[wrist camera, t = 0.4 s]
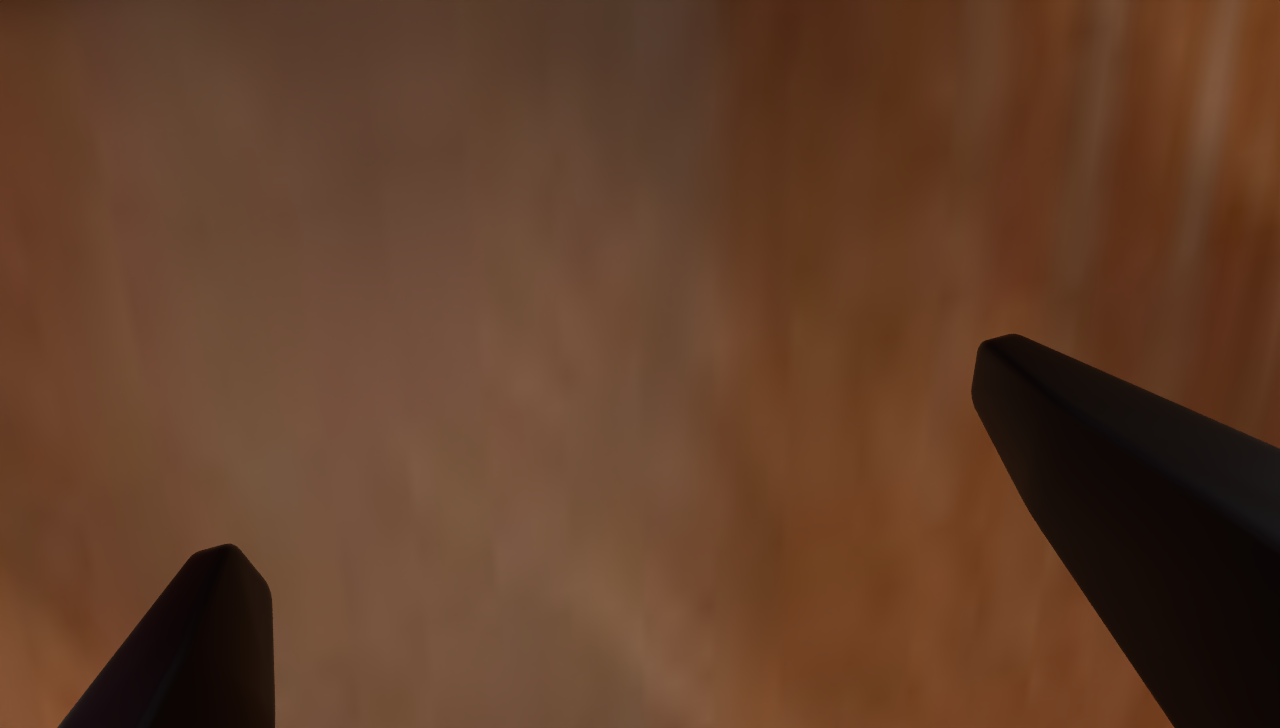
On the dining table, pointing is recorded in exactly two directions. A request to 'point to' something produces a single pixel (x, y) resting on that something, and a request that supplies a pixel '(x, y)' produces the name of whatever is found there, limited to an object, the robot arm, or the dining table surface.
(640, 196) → the dining table surface
